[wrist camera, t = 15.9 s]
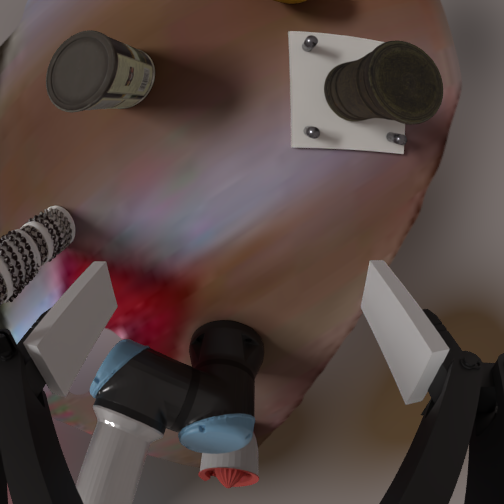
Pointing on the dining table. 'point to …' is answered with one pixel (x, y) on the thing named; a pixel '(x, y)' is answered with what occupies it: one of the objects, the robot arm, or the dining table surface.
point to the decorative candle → (32, 249)
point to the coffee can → (98, 74)
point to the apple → (291, 1)
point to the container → (386, 85)
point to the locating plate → (314, 102)
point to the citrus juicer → (232, 466)
